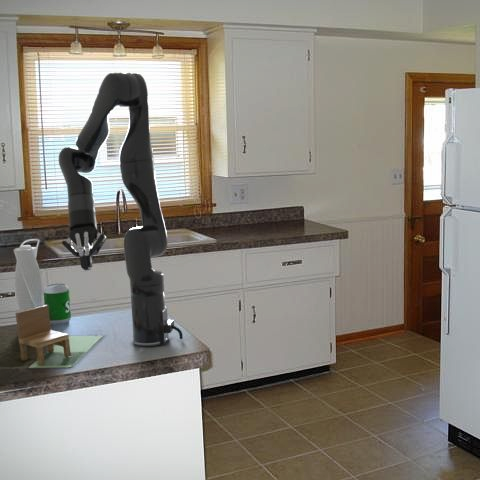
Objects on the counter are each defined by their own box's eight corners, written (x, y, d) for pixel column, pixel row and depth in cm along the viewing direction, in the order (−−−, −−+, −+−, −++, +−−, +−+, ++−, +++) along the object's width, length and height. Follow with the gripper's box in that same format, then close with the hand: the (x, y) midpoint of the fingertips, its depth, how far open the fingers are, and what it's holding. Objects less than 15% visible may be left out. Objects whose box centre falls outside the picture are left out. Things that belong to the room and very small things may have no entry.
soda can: (63, 326, 224) (60, 288, 222) (41, 325, 225) (38, 287, 224) (76, 319, 231) (73, 283, 229) (54, 318, 233) (51, 282, 231)
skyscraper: (39, 326, 224) (32, 237, 219) (52, 331, 219) (45, 239, 214) (14, 332, 218) (6, 240, 213) (27, 337, 213) (19, 243, 209)
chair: (70, 355, 194) (65, 308, 192) (40, 365, 187) (34, 317, 185) (51, 350, 200) (46, 304, 197) (21, 360, 193) (15, 312, 190)
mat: (103, 336, 213) (103, 335, 213) (71, 367, 186) (71, 366, 186) (65, 336, 213) (65, 336, 213) (28, 368, 186) (28, 367, 186)
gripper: (54, 212, 208) (59, 271, 204) (99, 204, 208) (105, 262, 204) (64, 219, 215) (69, 276, 211) (108, 212, 215) (114, 268, 211)
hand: (87, 269), depth 207 cm, fingers closed
